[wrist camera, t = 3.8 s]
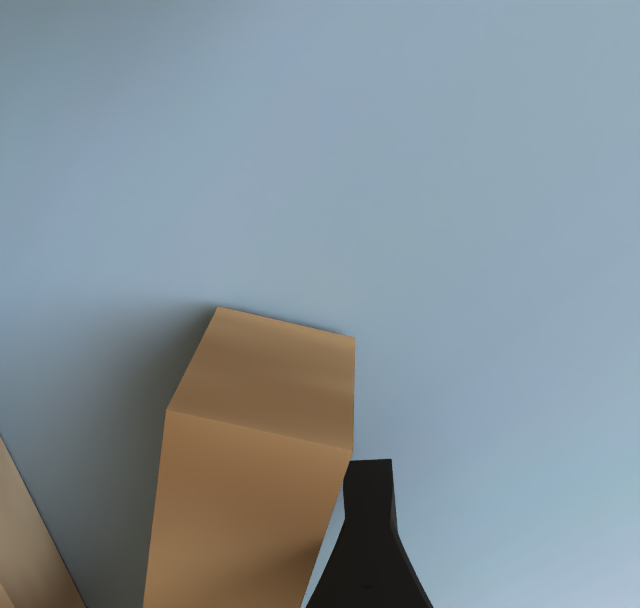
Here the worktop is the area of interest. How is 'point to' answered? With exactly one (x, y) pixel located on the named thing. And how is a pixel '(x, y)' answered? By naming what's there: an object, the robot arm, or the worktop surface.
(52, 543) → the stool seat
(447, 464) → the worktop surface
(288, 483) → the hinged leg
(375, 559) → the robot arm
